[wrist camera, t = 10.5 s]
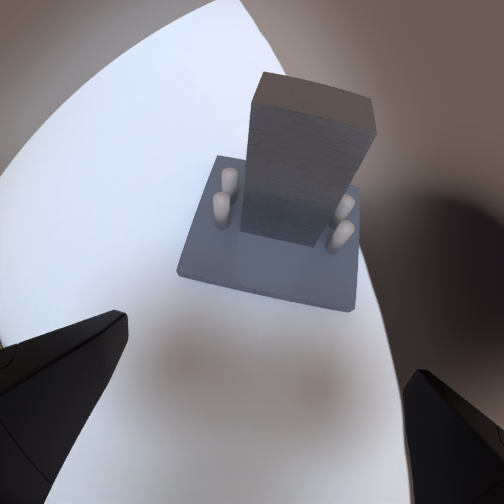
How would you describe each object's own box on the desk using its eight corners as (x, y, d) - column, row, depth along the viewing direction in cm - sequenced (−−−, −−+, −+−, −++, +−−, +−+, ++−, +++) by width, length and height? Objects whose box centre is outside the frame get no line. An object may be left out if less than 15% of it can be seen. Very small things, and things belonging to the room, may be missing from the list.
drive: (313, 247, 23) (376, 133, 12) (240, 231, 23) (251, 102, 12) (317, 213, 25) (370, 96, 13) (249, 197, 25) (264, 70, 13)
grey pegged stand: (348, 312, 22) (374, 296, 18) (178, 275, 23) (167, 251, 18) (355, 194, 27) (373, 164, 23) (217, 163, 28) (216, 128, 23)
